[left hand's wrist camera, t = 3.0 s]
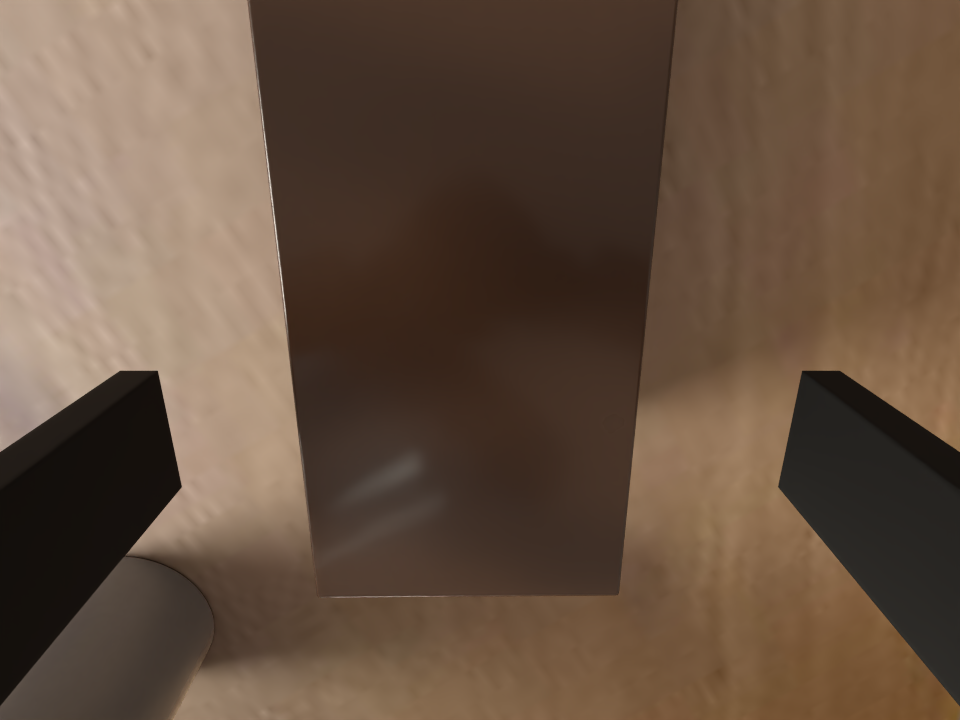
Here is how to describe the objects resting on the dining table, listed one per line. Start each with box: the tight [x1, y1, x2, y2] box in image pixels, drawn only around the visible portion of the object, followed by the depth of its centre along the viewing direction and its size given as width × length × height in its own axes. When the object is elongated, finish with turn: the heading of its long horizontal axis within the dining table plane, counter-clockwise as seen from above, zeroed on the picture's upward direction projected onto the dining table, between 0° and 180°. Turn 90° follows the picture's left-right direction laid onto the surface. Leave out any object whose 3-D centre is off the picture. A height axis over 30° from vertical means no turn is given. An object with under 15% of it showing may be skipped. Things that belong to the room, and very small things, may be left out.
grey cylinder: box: [0, 557, 214, 720], centre depth 21 cm, size 6×6×9 cm
